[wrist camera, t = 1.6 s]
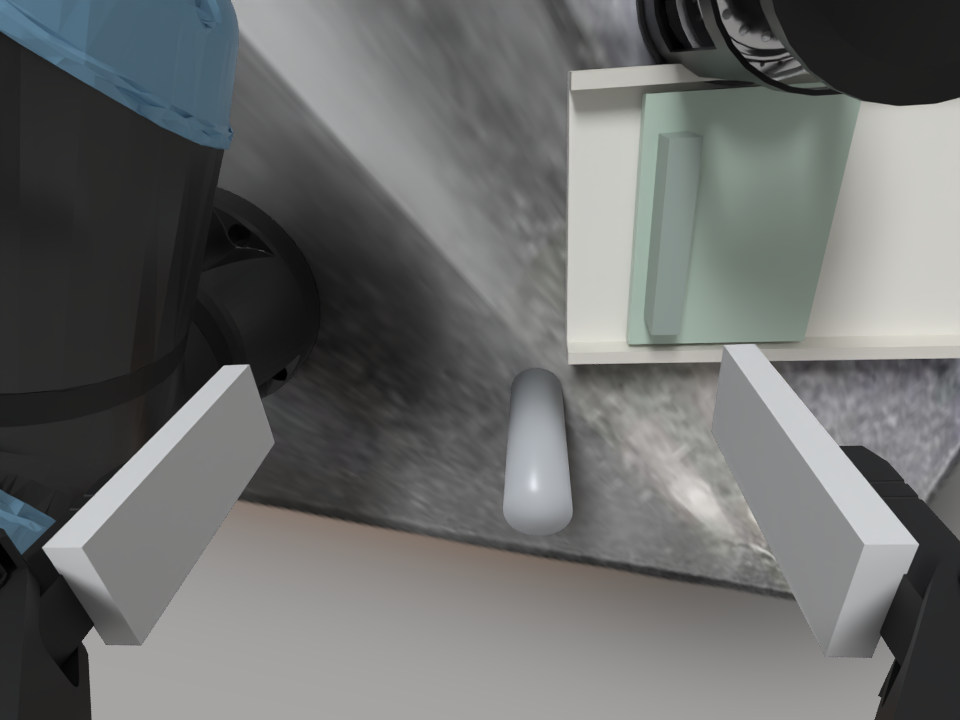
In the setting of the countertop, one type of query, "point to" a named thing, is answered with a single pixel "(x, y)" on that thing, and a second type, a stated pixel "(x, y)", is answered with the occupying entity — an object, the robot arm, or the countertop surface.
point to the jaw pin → (537, 456)
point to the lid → (734, 211)
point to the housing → (850, 248)
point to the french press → (817, 45)
